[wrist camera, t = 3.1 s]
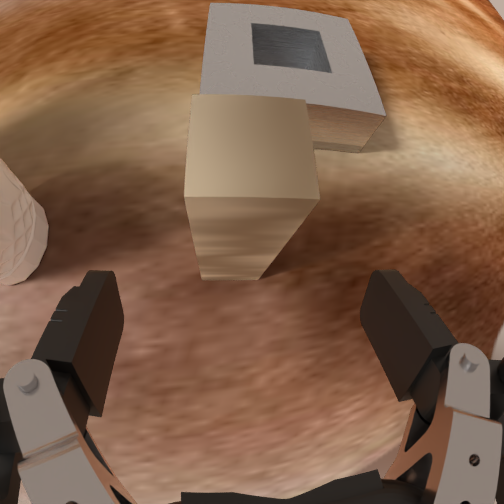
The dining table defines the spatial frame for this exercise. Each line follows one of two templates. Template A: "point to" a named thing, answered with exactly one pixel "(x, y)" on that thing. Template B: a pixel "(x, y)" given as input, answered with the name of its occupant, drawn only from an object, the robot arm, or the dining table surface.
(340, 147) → the grey square socket block
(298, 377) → the dining table surface
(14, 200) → the white cup
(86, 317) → the robot arm
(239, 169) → the square wooden peg
